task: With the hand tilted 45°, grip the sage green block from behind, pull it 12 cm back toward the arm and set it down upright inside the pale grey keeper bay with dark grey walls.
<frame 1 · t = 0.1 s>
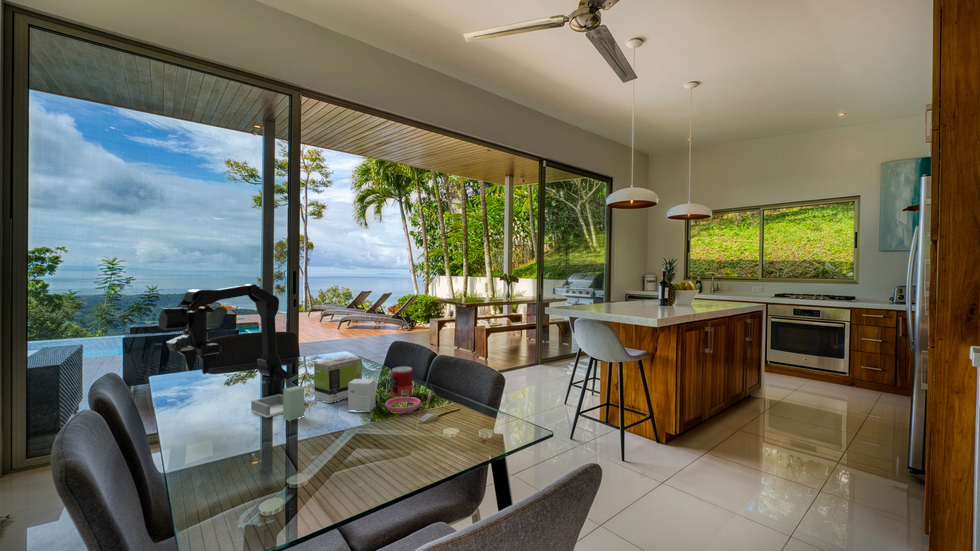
hand: (197, 372, 145), 15 cm above the table, tool pointing down, fingers open, 9 cm apart
green block: (293, 418, 143), on the table
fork: (440, 417, 147), on the table
tea box: (338, 398, 166), on the table
canned food: (402, 396, 168), on the table
keeper bay: (274, 410, 150), on the table
small box: (362, 410, 152), on the table
pink shallow round dish: (403, 410, 153), on the table
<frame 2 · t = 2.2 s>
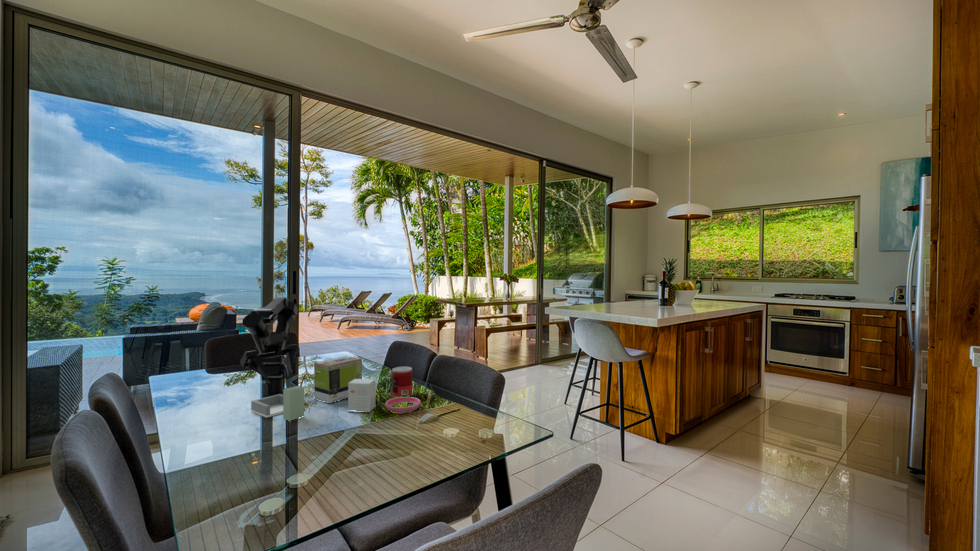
hand: (279, 374, 147), 13 cm above the table, tool tilted 45°, fingers open, 9 cm apart
nothing on the table moved.
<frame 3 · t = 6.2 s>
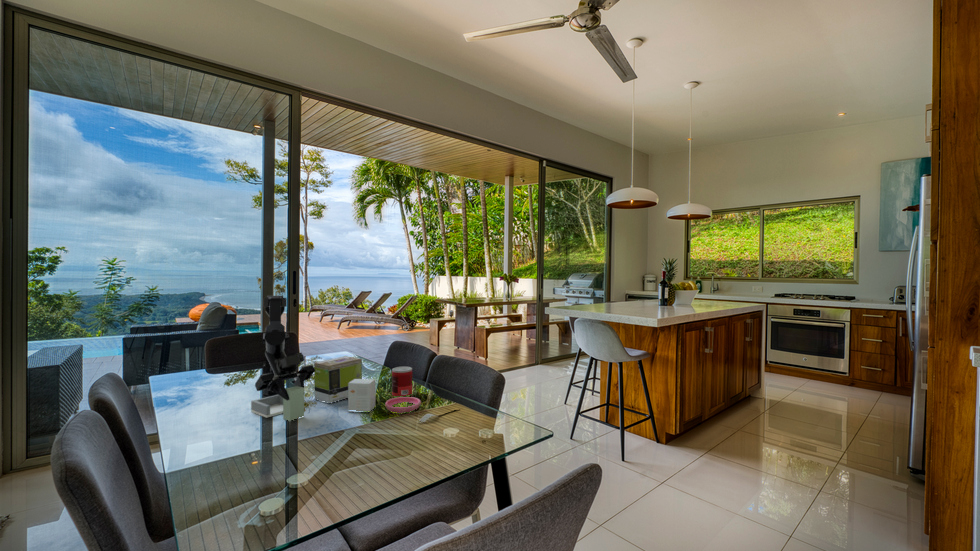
hand: (296, 397, 142), 7 cm above the table, tool tilted 45°, fingers closed on green block, 5 cm apart
green block: (293, 418, 143), on the table, touching gripper
everything else where it was.
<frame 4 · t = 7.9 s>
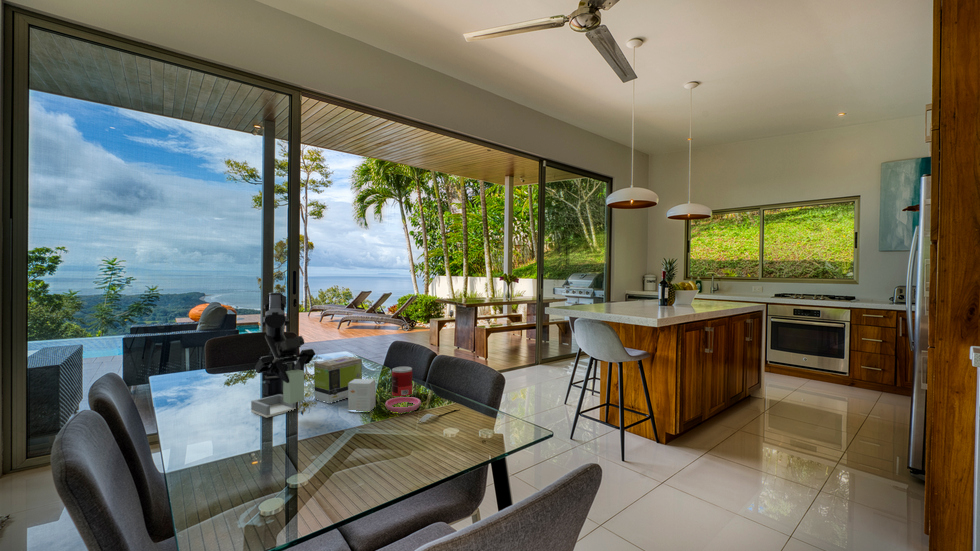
hand: (296, 380, 142), 13 cm above the table, tool tilted 45°, fingers closed on green block, 5 cm apart
green block: (293, 400, 143), point 6 cm above the table, touching gripper
everything else where it was.
when the fingers open (9 cm above the table, at t = 11.9 s): green block drops 1 cm, resting on keeper bay.
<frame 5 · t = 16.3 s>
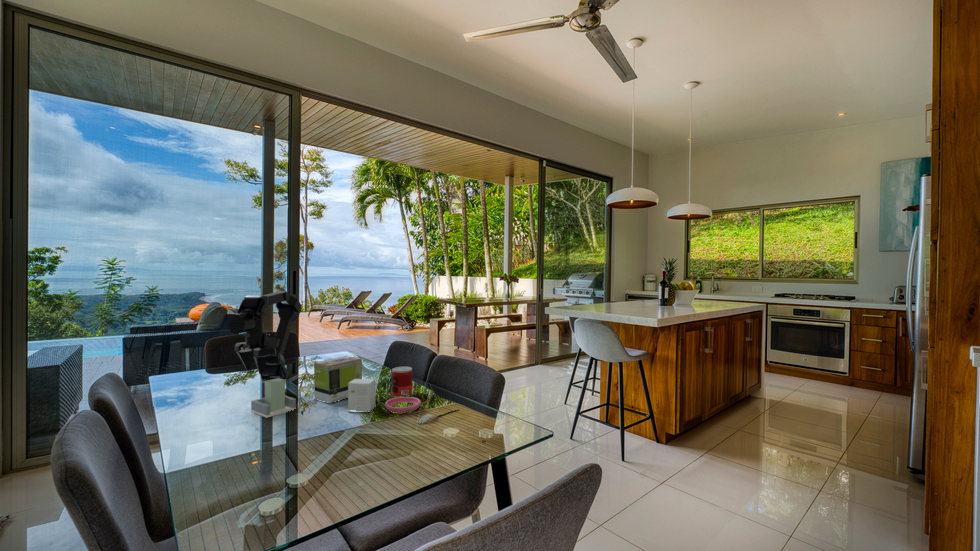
hand: (254, 372, 156), 12 cm above the table, tool pointing down, fingers open, 9 cm apart
green block: (274, 408, 150), point 1 cm above the table, touching keeper bay
everything else where it was.
at the end: green block 0.1 cm off-centre on the keeper bay, point 0.8 cm above the keeper bay's base; green block tilted 0°; the gripper is holding nothing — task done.
